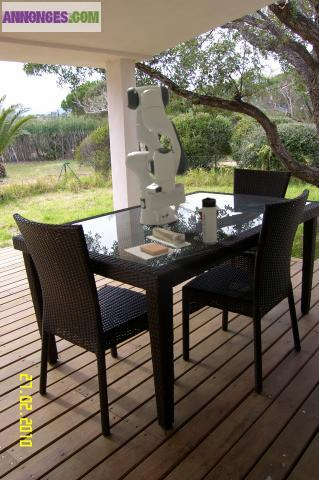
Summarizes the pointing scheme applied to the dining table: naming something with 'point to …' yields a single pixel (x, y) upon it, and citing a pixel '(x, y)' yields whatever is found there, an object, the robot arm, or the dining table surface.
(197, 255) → the dining table surface
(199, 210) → the plastic cup
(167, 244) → the board
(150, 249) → the tile
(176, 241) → the beige rectangular bar
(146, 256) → the mat
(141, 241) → the dining table surface
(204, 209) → the travel mug
